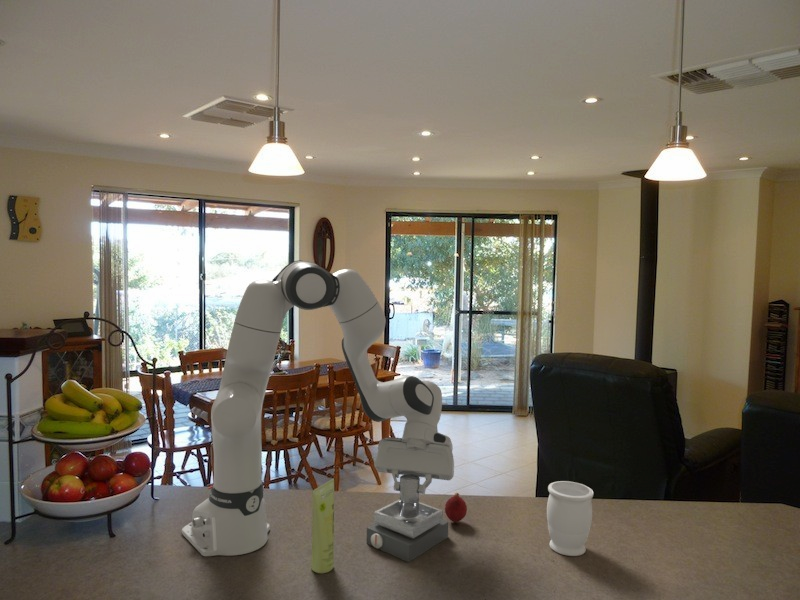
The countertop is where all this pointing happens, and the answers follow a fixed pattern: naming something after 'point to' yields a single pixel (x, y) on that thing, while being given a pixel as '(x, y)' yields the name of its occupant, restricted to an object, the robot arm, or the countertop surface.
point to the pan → (408, 519)
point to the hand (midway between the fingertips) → (408, 491)
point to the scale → (406, 540)
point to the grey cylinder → (409, 496)
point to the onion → (455, 508)
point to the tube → (323, 528)
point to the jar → (569, 516)
